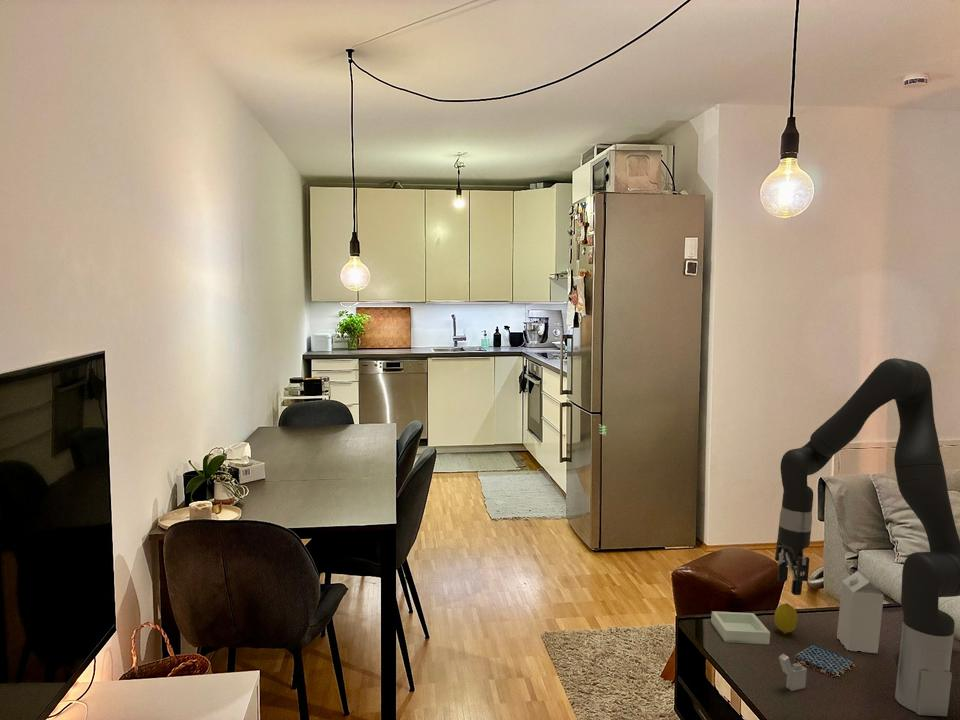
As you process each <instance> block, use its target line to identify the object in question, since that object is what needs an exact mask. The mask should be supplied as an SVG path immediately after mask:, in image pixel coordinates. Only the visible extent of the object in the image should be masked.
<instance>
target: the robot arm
mask: <svg viewBox="0 0 960 720" xmlns="http://www.w3.org/2000/svg"><path fill="white" fill-rule="evenodd" d="M932 387H933V386H932V379H931V376H930V373H929V371H928V370H927V369H926V367H925V366H924V365H922V364H921V363H918V362H916V361H912V360H907V359H903V358H898V357H897V358H895V357H894V358H888V359H885V360H884V361H882V362H880V363H879V364H878V365H877V366H876V367H875V368H874V369H873V370H872V371H871V373H870V374H869V375H868V376H867V378H865V380H864V381H863V383H862V384H861V385H860V386H859V387H858V388H857V390H856V391H855V392H854V393H853V394H852V395H851V397H850V398H849V399H848V400H847V401H846V402H845V403H844V404H843V405H842V407H841V408H839V409H838V410H837V411H836V412H835V413H834V414H833V415H832V416H831V417H829V418H828V419H827V420H826V421H825V422H824V423H822V424H821V425H820V426H819V427H818V428H817V429H815V430H814V432H813V433H811V435H810V438H809V441H808V442H807V443H805V445H803V446H801V447H799V448H792V449H790V450H787V451H786V452H784V454H783V455H782V458H781V460H780V468H779V469H780V476H781V482H782V483H781V484H782V487H783V489H782V490H783V493H782V502H781V509H780V513H779V521H778V531H777V532H778V533H777V540H776V546H775V547H776V548H775V555H774V559H775V562H777V566H778V572H777V580H778V581H780V582H787V581H788V574H789V572H790V573H791V575H792V576H791V577H792V581H791V589H790V590H791V594H792V595H794V596H801V595H802V590H803V588H802V587H803V582H809V580H808V579H809V569H810V557H809V556H804V550H805V549H807V548H809V547H810V545H811V535H812V526H813V505H814V504H813V503H814V490H813V488H812V487H810V486H809V485H808V476H812V475H815V474H816V473H818V472H819V471H821V469H823V468H824V467H825V466H826V465H827V464H828V463H829V462H830V460H831V459H832V458H833V456H834V455H836V454H837V453H839V451H841V450H843V448H845V447H846V446H848V444H849V443H851V442H852V441H853V440H855V438H856V437H857V436H858V434H859V433H860V432H861V430H862V428H863V427H864V425H865V424H866V421H868V419H869V418H870V417H871V415H872V414H873V413H875V411H877V410H878V409H880V408H881V407H882V406H884V405H886V404H887V403H889V402H891V401H893V400H894V401H895V404H896V408H897V413H898V419H899V433H898V438H897V442H896V446H895V450H894V459H893V463H894V469H895V470H894V471H895V476H896V482H897V487H898V491H899V493H900V495H901V497H902V498H903V500H904V501H905V503H906V504H907V505H908V507H909V509H911V510H912V512H913V513H914V515H915V516H916V517H917V519H918V520H919V521H920V523H921V525H922V526H923V529H924V532H925V534H926V537H927V542H928V545H929V547H928V548H929V550H930V551H918V552H912V553H910V554H909V555H908V556H907V557H906V559H905V560H904V563H903V566H902V571H901V593H900V594H901V595H900V604H901V610H902V613H903V614H902V616H903V617H902V618H903V619H902V628H901V637H900V645H899V654H898V655H899V656H898V666H897V673H896V682H895V683H896V684H895V693H894V698H895V700H896V702H898V703H899V704H900V706H901V705H902V707H904V708H905V709H907V710H909V711H912V712H914V713H915V714H917V715H918V716H931V717H933V716H934V717H935V716H936V717H948V714H949V713H948V712H949V704H950V695H951V694H950V693H951V685H952V676H953V673H952V672H951V671H950V669H951V660H952V652H953V651H952V650H953V645H954V644H953V643H954V635H955V625H956V624H955V620H954V618H953V616H951V615H950V614H948V613H947V612H945V611H943V610H941V609H939V601H940V600H939V598H951V597H952V598H954V597H960V537H959V536H960V535H959V533H958V530H957V526H956V524H955V519H954V515H953V513H954V512H953V509H952V504H951V499H950V495H949V490H948V483H947V482H948V481H947V476H946V471H945V467H944V462H943V456H942V454H941V449H940V444H939V437H938V433H937V427H936V423H935V415H934V402H933V388H932Z"/></svg>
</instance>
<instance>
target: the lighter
mask: <svg viewBox="0 0 960 720" xmlns="http://www.w3.org/2000/svg"><path fill="white" fill-rule="evenodd" d="M778 660H779V663H780V666H781V670H782V672H783V673H785V674H786V684H785V688H786V689H788V690H790V691H791V692H793V691H797V690H802V689H806V683H807V672H808V668H807V667H806V666H804V665H802V664H800V663H797V662H795V663H791V661H790V657H789V656H788V655H786V654H785V653H782V654H780V655H779V656H778Z"/></svg>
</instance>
